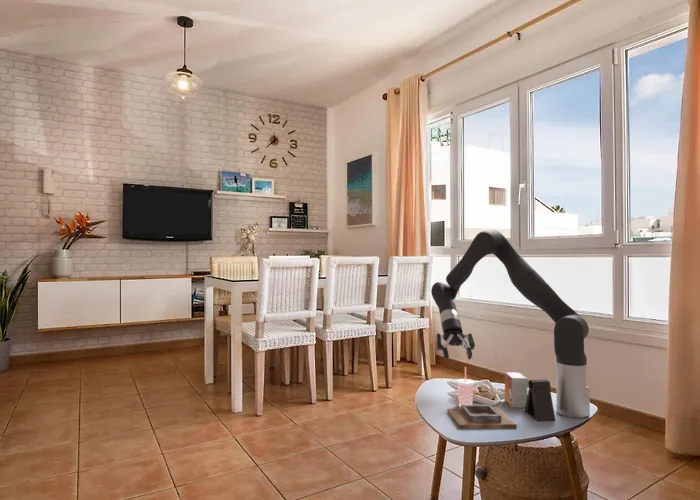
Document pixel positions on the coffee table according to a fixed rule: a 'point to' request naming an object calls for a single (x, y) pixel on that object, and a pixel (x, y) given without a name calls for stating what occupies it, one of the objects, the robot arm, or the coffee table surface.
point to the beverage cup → (465, 391)
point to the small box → (516, 389)
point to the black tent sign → (540, 401)
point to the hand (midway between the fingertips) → (458, 358)
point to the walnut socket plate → (480, 417)
